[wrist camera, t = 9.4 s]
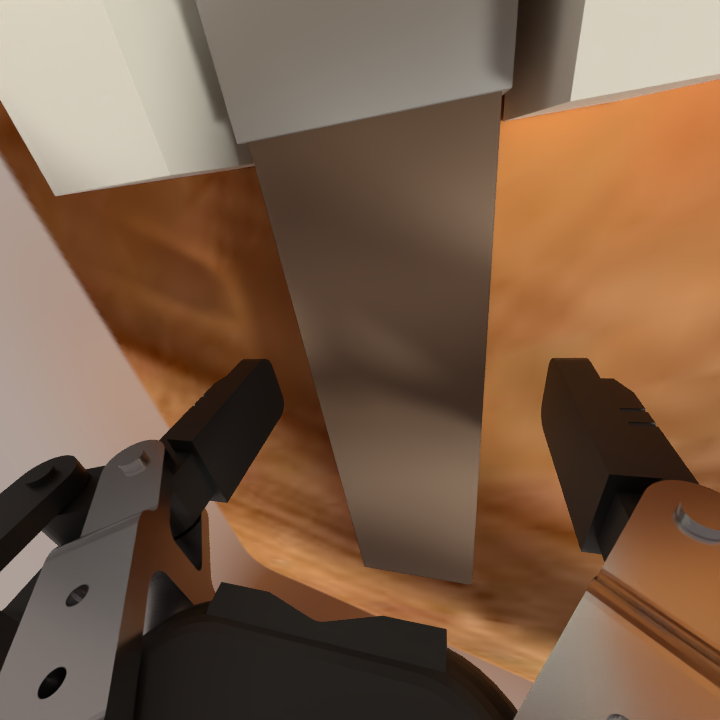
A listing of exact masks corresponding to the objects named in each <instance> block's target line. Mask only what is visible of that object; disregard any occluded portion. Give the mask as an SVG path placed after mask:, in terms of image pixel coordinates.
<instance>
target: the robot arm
mask: <svg viewBox="0 0 720 720" xmlns="http://www.w3.org/2000/svg"><path fill="white" fill-rule="evenodd" d="M283 407H284V400H283V396H282V393H281V390H280V387H279V384H278V381H277V378H276V375H275V372H274V370H273V367H272V364H271V362H270V361H269V360H267V359H243V360H242V361H241V362H240V363H239V364H238V365H237V366H236V367H235V368H234V369H233V370H232V371H231V372H230V373H229V374H228V375H227V376H226V377H224V378H222V379H221V380H219V381H218V382H216V383H215V384H214V385H213V386H212V387H211V388H210V389H209V390H208V391H207V392H206V393H205V394H204V397H201V398H200V399H199V400H198V401H197V402H196V403H195V406H192V407H191V408H190V409H189V410H188V411H187V412H186V413H185V414H184V415H183V416H182V417H181V418H180V419H179V421H178V422H177V423H176V424H175V425H174V426H173V427H172V428H171V429H170V430H169V431H168V432H167V433H166V434H165V435H164V436H163V437H162V438H161V439H160V440H159V441H158V440H146V441H142V442H139V443H136V444H134V445H132V446H130V447H128V448H126V449H124V450H123V451H121V452H120V453H118V454H117V455H116V456H115V457H114V458H112V459H111V460H110V461H109V462H108V463H107V465H106V466H101V467H96V468H90V469H85V468H84V467H83V466H82V465H81V464H80V462H79V461H78V460H77V459H76V458H75V457H74V456H70V455H66V456H60V457H56V458H53V459H50V460H48V461H46V462H44V463H41V464H40V465H38V466H36V467H35V468H33V469H31V470H30V471H28V472H27V473H25V474H24V475H23V476H21V477H20V478H19V479H18V480H16V481H15V482H14V483H13V484H12V485H10V486H9V487H8V488H7V489H5V490H4V491H3V492H2V493H1V494H0V571H1V570H2V569H3V568H4V567H5V566H6V565H7V564H8V563H9V562H10V561H11V560H12V559H13V558H14V557H15V556H16V555H17V554H18V553H19V552H20V551H21V550H22V549H23V548H24V547H25V546H26V545H27V544H28V543H29V542H30V541H31V540H32V539H33V538H34V537H35V536H36V535H37V534H38V533H39V532H40V531H42V532H44V533H45V534H46V535H47V536H48V537H49V538H50V539H51V540H53V541H54V542H55V543H56V544H57V545H58V546H59V547H57V548H55V549H54V550H52V551H51V553H50V554H49V555H48V557H47V558H46V560H45V563H44V565H43V567H42V568H41V569H40V571H38V573H37V574H36V575H35V576H34V577H33V578H32V579H31V580H30V581H29V582H28V584H27V585H26V586H25V587H24V588H23V589H22V590H21V591H20V592H19V593H18V595H17V596H16V597H15V598H14V599H13V600H12V601H11V602H10V603H9V604H8V606H7V607H6V608H5V609H3V610H2V611H0V720H720V493H719V492H717V491H715V490H712V489H710V488H707V487H705V486H702V485H699V483H698V482H697V480H696V479H695V478H694V476H693V475H692V473H691V472H690V471H689V469H688V468H687V466H686V465H685V464H684V462H683V461H682V459H681V458H680V457H679V455H678V454H677V452H676V451H675V450H674V448H673V447H672V445H671V444H670V443H669V441H668V440H667V438H666V437H665V436H664V434H663V433H662V431H661V430H660V429H659V427H656V426H655V422H654V420H653V419H652V418H651V416H650V415H649V413H648V412H645V408H644V406H643V405H642V404H641V402H640V401H639V399H638V398H637V397H636V395H635V394H634V392H632V391H631V390H629V389H628V388H626V387H625V386H623V385H622V384H620V383H619V382H618V381H616V380H615V379H606V378H600V377H599V375H598V373H597V372H596V370H595V368H594V367H593V365H592V364H591V362H590V361H589V359H587V358H552V359H551V360H550V363H549V367H548V372H547V378H546V384H545V389H544V395H543V401H542V407H541V420H542V427H543V431H544V434H545V437H546V440H547V444H548V447H549V450H550V453H551V456H552V460H553V463H554V466H555V469H556V472H557V476H558V479H559V482H560V485H561V488H562V492H563V495H564V498H565V501H566V504H567V507H568V511H569V514H570V517H571V520H572V523H573V527H574V530H575V533H576V536H577V539H578V543H579V546H580V549H581V552H589V553H596V554H602V556H603V559H604V562H605V563H604V565H603V567H602V569H601V570H600V572H599V574H598V575H597V577H595V578H594V579H593V581H592V582H591V584H590V585H589V587H588V589H587V590H586V592H585V594H584V596H583V597H582V599H581V601H580V603H579V604H578V606H577V608H576V610H575V611H574V613H573V615H572V617H571V619H570V620H569V622H568V624H567V626H566V627H565V629H564V631H563V633H562V634H561V636H560V638H559V640H558V642H557V643H556V645H555V647H554V649H553V650H552V652H551V654H550V656H549V657H548V659H547V661H546V663H545V665H544V666H543V668H542V670H541V672H540V673H539V675H538V677H537V679H536V680H535V682H534V684H533V686H532V688H531V689H530V691H529V693H528V695H527V696H526V698H525V700H524V702H523V703H522V705H521V707H520V709H519V711H517V709H516V708H515V707H514V705H513V704H512V702H511V701H510V700H509V699H508V698H507V697H506V696H505V694H504V693H503V692H502V691H501V690H500V689H499V688H498V686H497V685H496V684H495V683H494V682H493V681H492V680H491V679H489V678H488V677H487V676H486V675H485V674H484V673H483V672H482V671H481V670H480V669H479V668H477V667H476V666H475V665H473V664H472V663H471V662H469V661H468V660H467V659H465V658H464V657H463V656H461V655H459V654H457V653H456V652H454V651H452V650H450V649H449V648H447V629H443V628H438V627H434V626H429V625H424V624H419V623H415V622H410V621H405V620H400V619H395V618H391V617H386V616H376V617H366V618H357V619H348V620H338V621H328V622H318V621H315V620H313V619H311V618H309V617H308V616H306V615H305V614H303V613H301V612H300V611H298V610H297V609H295V608H294V607H292V606H290V605H289V604H287V603H286V602H284V601H283V600H281V599H279V598H278V597H276V596H275V595H273V594H271V593H270V592H267V591H262V590H257V589H252V588H248V587H243V586H238V585H233V584H228V583H223V582H221V584H220V586H219V588H218V590H217V592H216V593H215V591H214V588H213V585H212V580H211V570H210V545H209V544H210V543H209V518H208V513H207V511H206V509H205V507H206V505H207V504H208V502H209V501H217V502H225V503H227V502H228V501H229V499H230V498H231V496H232V494H233V493H234V491H235V490H236V488H237V486H238V485H239V483H240V482H241V480H242V478H243V477H244V475H245V473H246V472H247V470H248V469H249V467H250V465H251V464H252V462H253V461H254V459H255V457H256V456H257V454H258V452H259V451H260V449H261V448H262V446H263V444H264V443H265V441H266V440H267V438H268V436H269V435H270V433H271V431H272V430H273V428H274V427H275V425H276V423H277V422H278V420H279V419H280V417H281V415H282V412H283Z"/></svg>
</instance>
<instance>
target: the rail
mask: <svg viewBox="0 0 720 720" xmlns="http://www.w3.org/2000/svg"><path fill="white" fill-rule="evenodd" d="M195 1H196V4H197V8H198V11H199V15H200V18H201V22H202V25H203V28H204V32H205V35H206V39H207V42H208V46H209V49H210V53H211V56H212V60H213V63H214V66H215V70H216V73H217V77H218V80H219V84H220V87H221V91H222V94H223V97H224V101H225V104H226V108H227V111H228V115H229V118H230V122H231V125H232V128H233V132H234V135H235V139H236V142H237V144H247V143H248V144H249V147H250V151H251V155H252V158H253V162H254V165H255V169H256V173H257V176H258V180H259V184H260V187H261V191H262V195H263V198H264V202H265V206H266V209H267V213H268V216H269V220H270V224H271V227H272V231H273V235H274V238H275V242H276V246H277V249H278V253H279V257H280V260H281V264H282V267H283V271H284V275H285V278H286V282H287V286H288V289H289V293H290V297H291V300H292V304H293V308H294V311H295V315H296V318H297V322H298V326H299V329H300V333H301V337H302V340H303V344H304V348H305V351H306V355H307V359H308V362H309V366H310V369H311V373H312V377H313V380H314V384H315V388H316V391H317V395H318V399H319V402H320V406H321V409H322V413H323V417H324V420H325V424H326V428H327V431H328V435H329V439H330V442H331V446H332V450H333V453H334V457H335V460H336V464H337V468H338V471H339V475H340V479H341V482H342V486H343V490H344V493H345V497H346V501H347V504H348V508H349V511H350V515H351V519H352V522H353V526H354V530H355V533H356V537H357V541H358V544H359V548H360V552H361V555H362V559H363V562H364V566H365V567H370V568H376V569H381V570H387V571H393V572H399V573H404V574H410V575H416V576H422V577H428V578H433V579H439V580H445V581H451V582H457V583H462V584H468V585H472V574H473V558H474V541H475V525H476V509H477V492H478V476H479V460H480V443H481V427H482V411H483V394H484V378H485V362H486V345H487V329H488V313H489V296H490V280H491V264H492V247H493V231H494V215H495V198H496V182H497V166H498V149H499V133H500V117H501V100H502V95H504V94H505V93H506V92H507V91H508V90H510V89H511V88H512V82H513V69H514V55H515V41H516V28H517V14H518V1H519V0H195Z"/></svg>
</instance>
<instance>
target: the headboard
mask: <svg viewBox="0 0 720 720" xmlns="http://www.w3.org/2000/svg"><path fill="white" fill-rule="evenodd" d="M717 79H720V0H519V1H518V14H517V28H516V41H515V55H514V69H513V82H512V88H511V89H510V90H508V91H507V92H506V93H505V101H504V116H503V121H509V120H515V119H520V118H526V117H531V116H537V115H543V114H548V113H554V112H559V111H565V110H571V109H576V108H582V107H587V106H593V105H599V104H604V103H610V102H615V101H620V100H625V99H629V98H634V97H639V96H643V95H648V94H653V93H657V92H662V91H666V90H671V89H676V88H680V87H685V86H689V85H694V84H699V83H703V82H708V81H713V80H717ZM0 100H1V102H2V104H3V106H4V107H5V109H6V111H7V113H8V114H9V116H10V118H11V120H12V121H13V123H14V125H15V127H16V128H17V130H18V132H19V134H20V135H21V137H22V139H23V141H24V142H25V144H26V146H27V148H28V149H29V151H30V153H31V155H32V156H33V158H34V160H35V162H36V163H37V165H38V167H39V169H40V170H41V172H42V174H43V176H44V177H45V179H46V181H47V183H48V184H49V186H50V188H51V190H52V191H53V193H54V195H55V196H61V195H67V194H74V193H81V192H87V191H94V190H101V189H107V188H114V187H121V186H127V185H134V184H141V183H147V182H154V181H161V180H167V179H174V178H181V177H188V176H194V175H201V174H208V173H214V172H221V171H228V170H234V169H240V168H246V167H251V166H255V165H254V162H253V158H252V155H251V151H250V147H249V144H248V143H247V144H237V142H236V139H235V135H234V132H233V128H232V125H231V122H230V118H229V115H228V111H227V108H226V104H225V101H224V97H223V94H222V91H221V87H220V84H219V80H218V77H217V73H216V70H215V66H214V63H213V60H212V56H211V53H210V49H209V46H208V42H207V39H206V35H205V32H204V28H203V25H202V22H201V18H200V15H199V11H198V8H197V4H196V1H195V0H0Z"/></svg>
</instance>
